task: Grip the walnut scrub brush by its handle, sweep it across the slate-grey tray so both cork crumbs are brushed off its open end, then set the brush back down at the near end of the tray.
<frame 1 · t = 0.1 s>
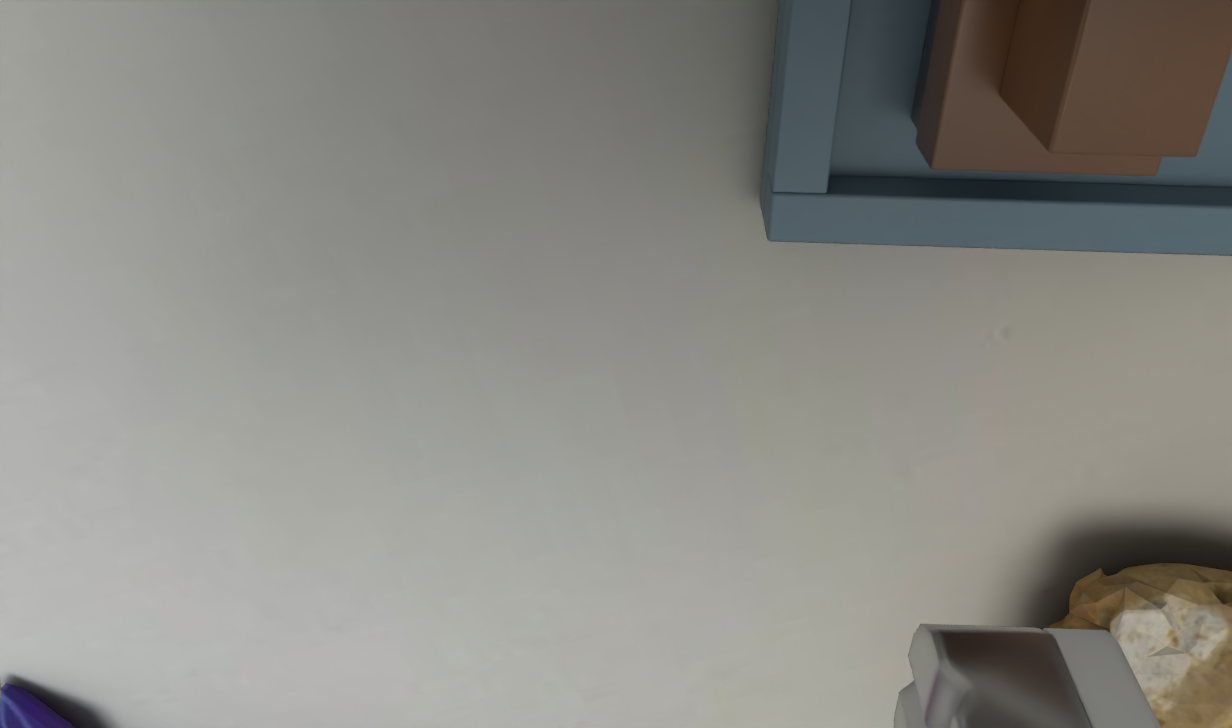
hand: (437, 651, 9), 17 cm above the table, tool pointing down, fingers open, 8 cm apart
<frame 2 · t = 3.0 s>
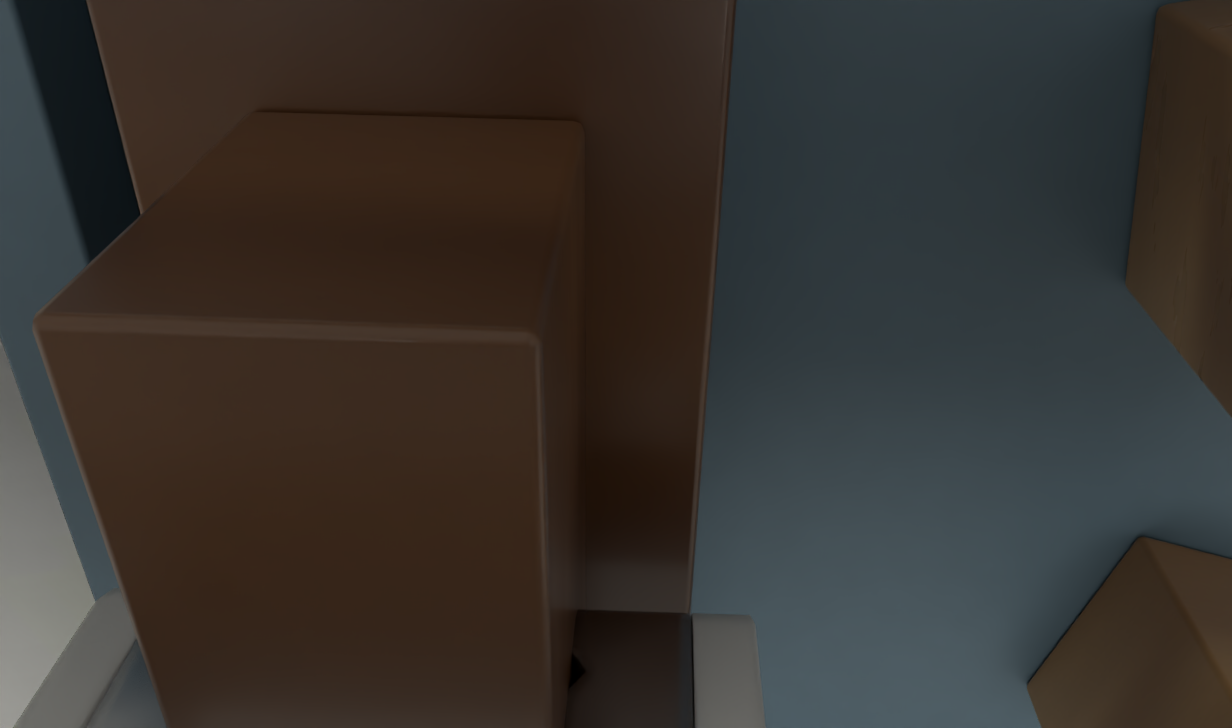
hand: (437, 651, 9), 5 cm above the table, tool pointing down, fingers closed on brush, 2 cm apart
brush: (502, 400, 12), point 1 cm above the table, touching gripper, tray
tray: (988, 372, 13), on the table
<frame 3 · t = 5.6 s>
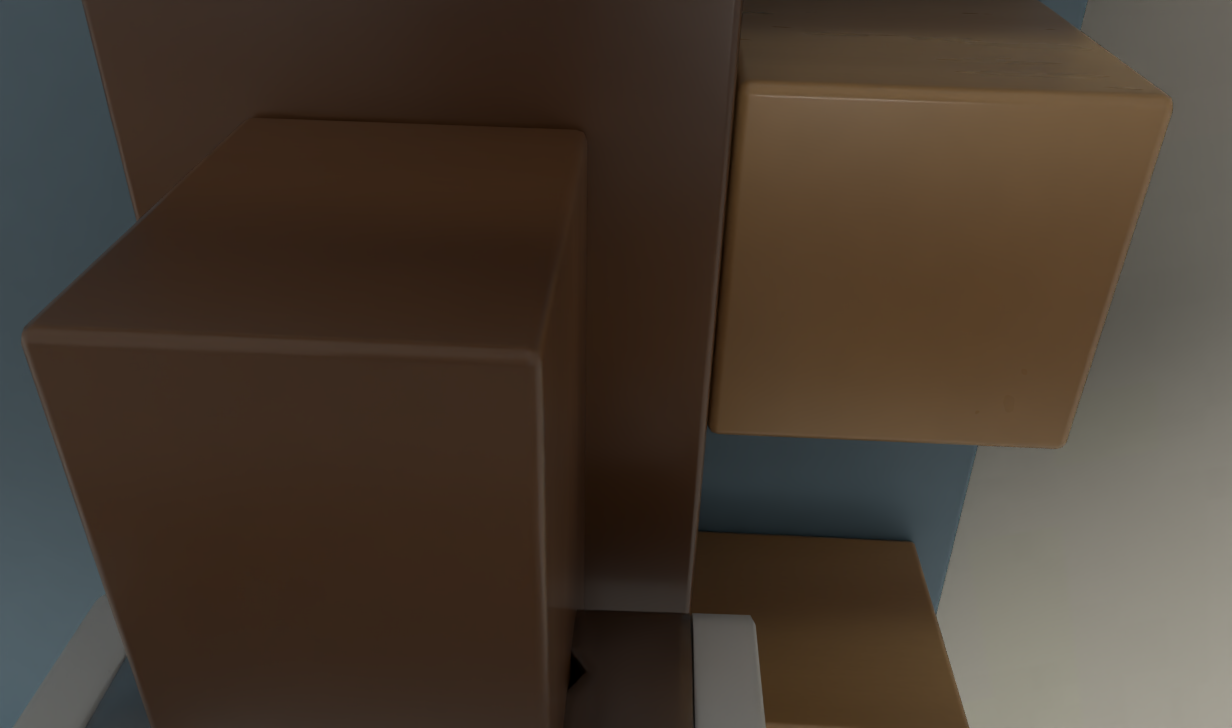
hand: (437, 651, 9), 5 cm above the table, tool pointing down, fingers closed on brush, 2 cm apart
crumb a: (883, 207, 9), point 2 cm above the table, touching brush, tray
brush: (501, 407, 12), point 1 cm above the table, touching crumb a, crumb b, gripper
tray: (103, 346, 13), on the table
crumb b: (795, 707, 12), point 3 cm above the table, touching brush
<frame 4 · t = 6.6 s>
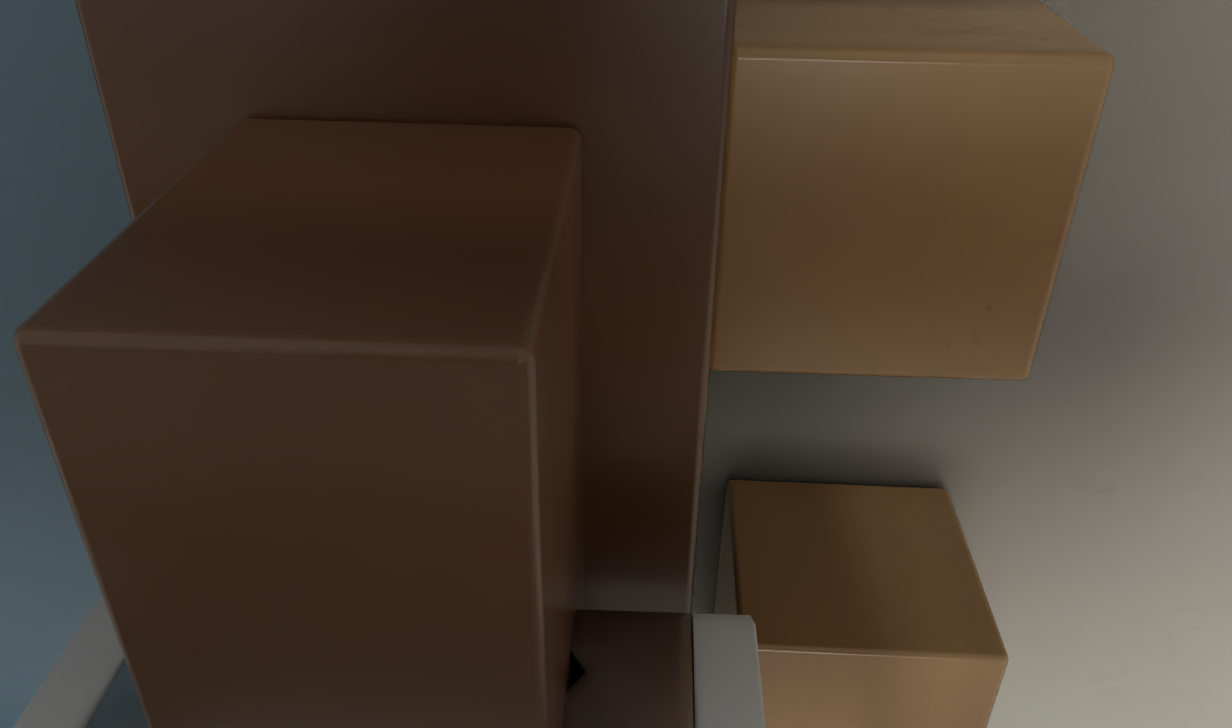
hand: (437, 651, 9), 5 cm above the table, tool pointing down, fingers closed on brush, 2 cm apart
crumb a: (862, 165, 10), point 2 cm above the table
brush: (501, 406, 12), point 1 cm above the table, touching gripper
crumb b: (838, 643, 13), point 1 cm above the table, tilted 90°
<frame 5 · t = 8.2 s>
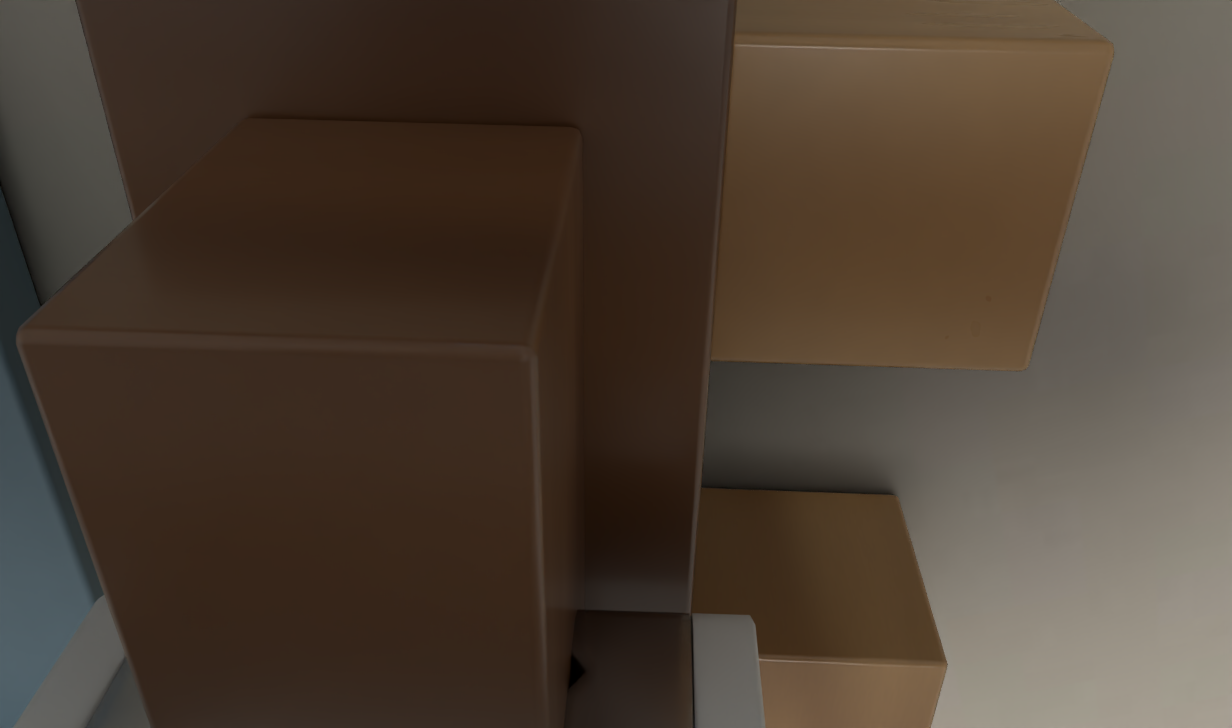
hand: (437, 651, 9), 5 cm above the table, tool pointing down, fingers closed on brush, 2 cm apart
crumb a: (862, 155, 10), point 1 cm above the table, touching brush
brush: (501, 406, 12), point 1 cm above the table, touching crumb a, crumb b, gripper
crumb b: (788, 649, 13), point 1 cm above the table, tilted 90°, touching brush
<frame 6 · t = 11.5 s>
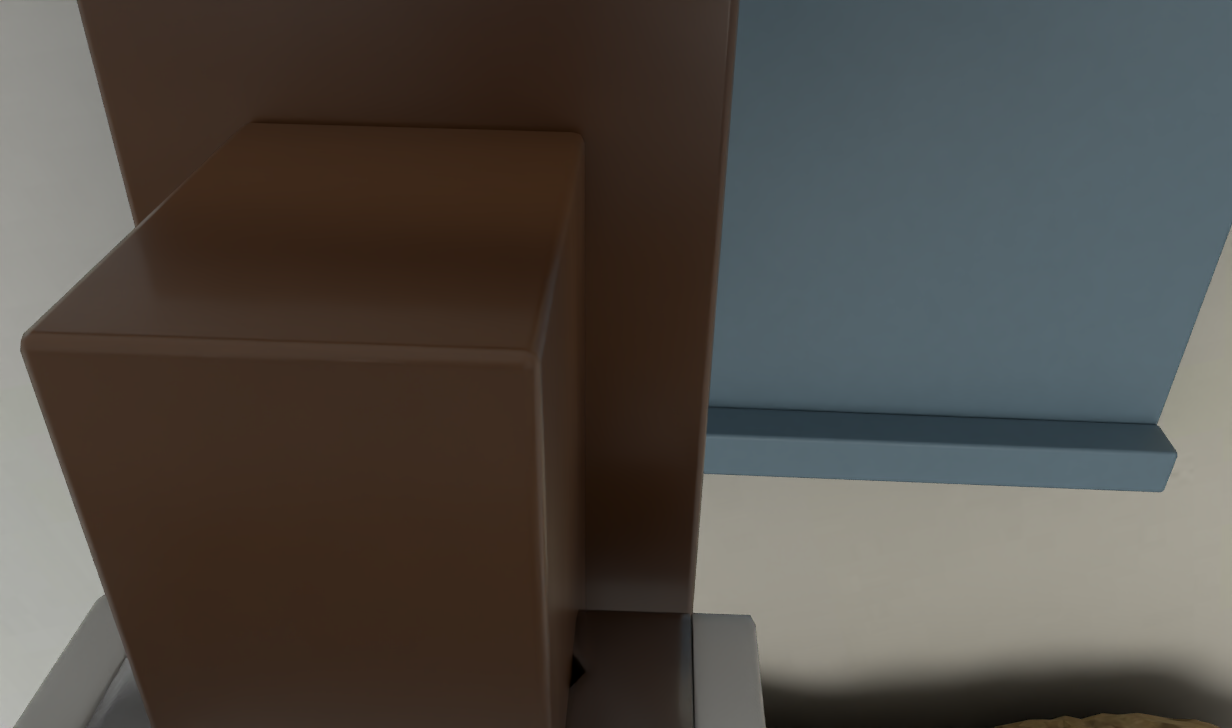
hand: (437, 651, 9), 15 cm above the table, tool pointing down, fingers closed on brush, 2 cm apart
brush: (501, 409, 12), point 12 cm above the table, touching gripper
tray: (721, 97, 22), on the table
when the fingers open (5 cm above the table, at t = 14.1 s): brush stays where it is, resting on tray.
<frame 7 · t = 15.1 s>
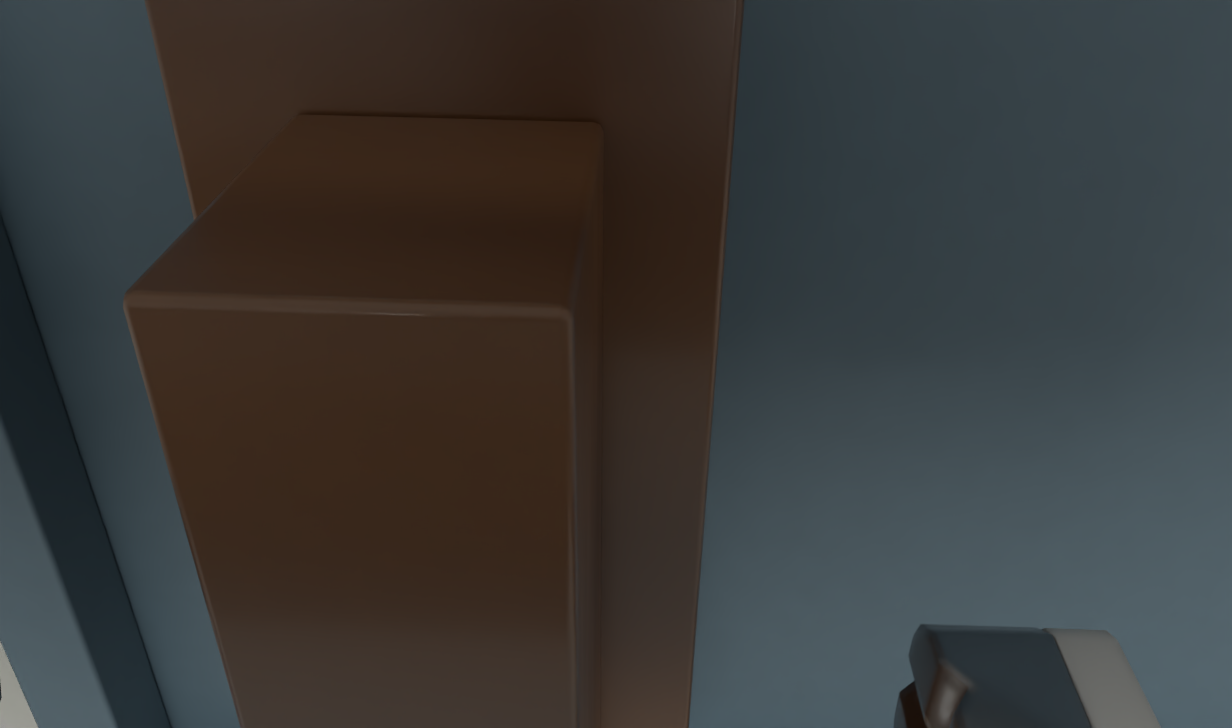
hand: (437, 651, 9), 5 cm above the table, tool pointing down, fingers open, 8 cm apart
brush: (518, 388, 13), point 1 cm above the table, touching tray
tray: (823, 350, 13), on the table
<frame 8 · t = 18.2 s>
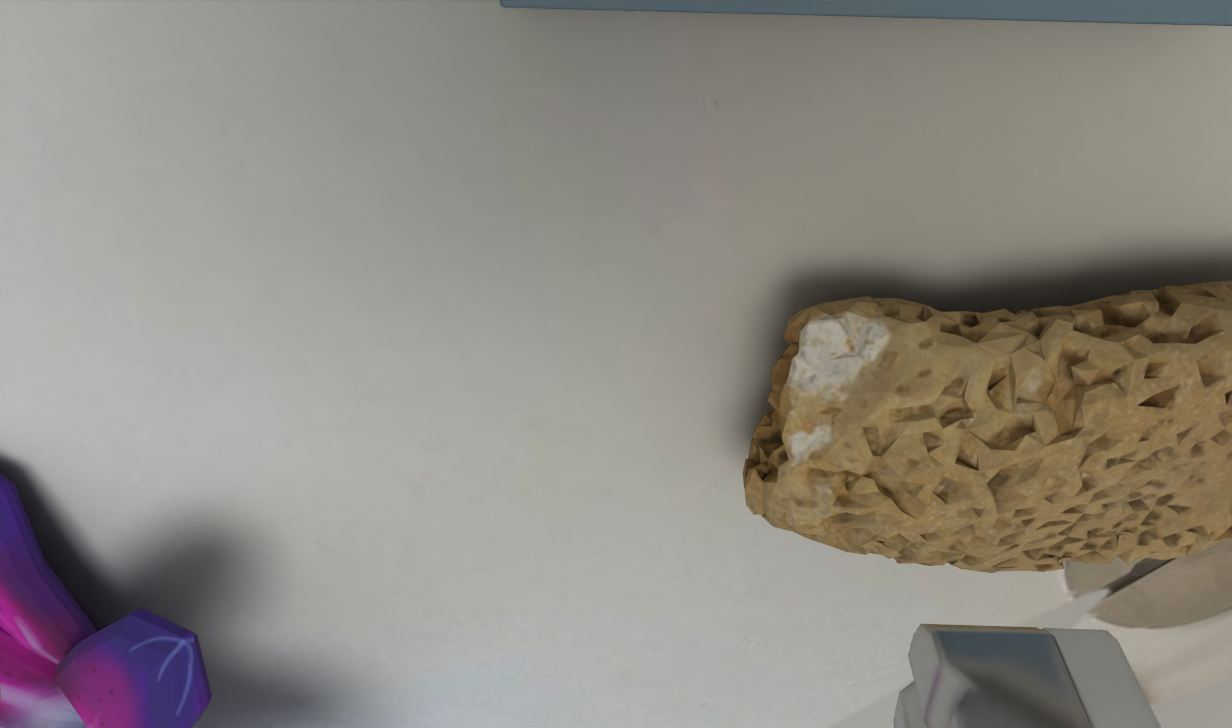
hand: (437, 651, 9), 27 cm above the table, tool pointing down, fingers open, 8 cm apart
decorative flower: (74, 663, 50), on the table
sponge: (1021, 370, 39), on the table
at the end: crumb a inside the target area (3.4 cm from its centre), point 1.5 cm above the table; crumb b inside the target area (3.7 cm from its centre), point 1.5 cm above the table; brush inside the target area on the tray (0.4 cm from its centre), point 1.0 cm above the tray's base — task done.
